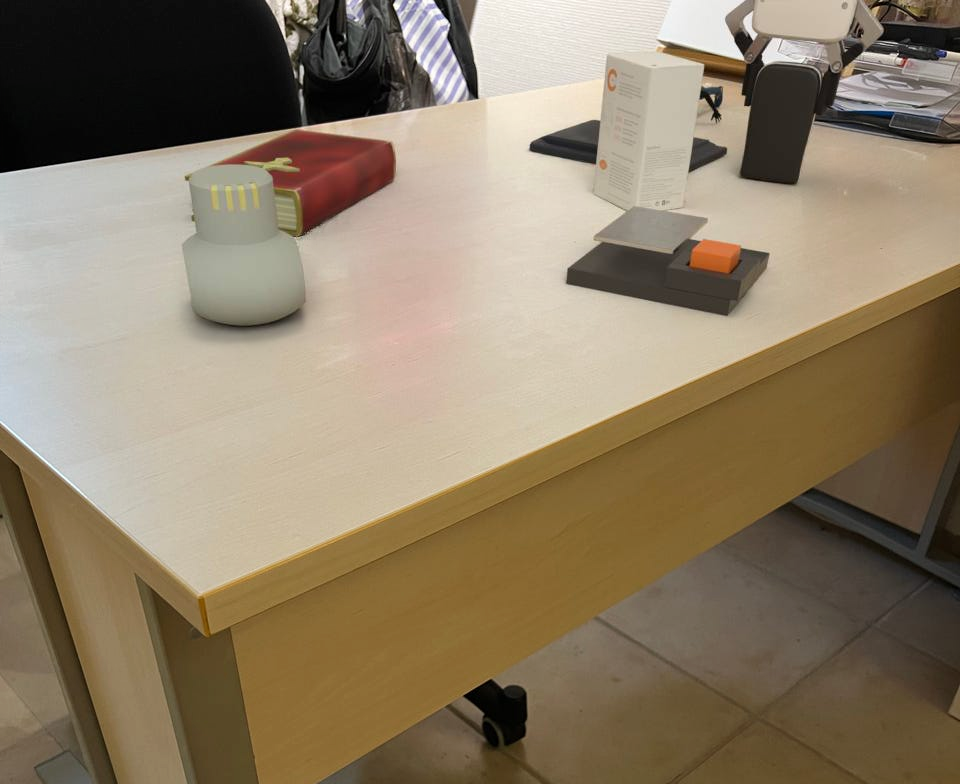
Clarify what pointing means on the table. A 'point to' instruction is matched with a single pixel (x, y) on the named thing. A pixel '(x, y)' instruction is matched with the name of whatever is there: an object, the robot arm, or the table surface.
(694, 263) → the button
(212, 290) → the air freshener
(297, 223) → the hardcover book
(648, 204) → the small box
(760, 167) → the battery charger
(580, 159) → the wallet
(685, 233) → the weighing plate
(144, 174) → the table surface
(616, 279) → the scale
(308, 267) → the table surface
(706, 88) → the person figurine
